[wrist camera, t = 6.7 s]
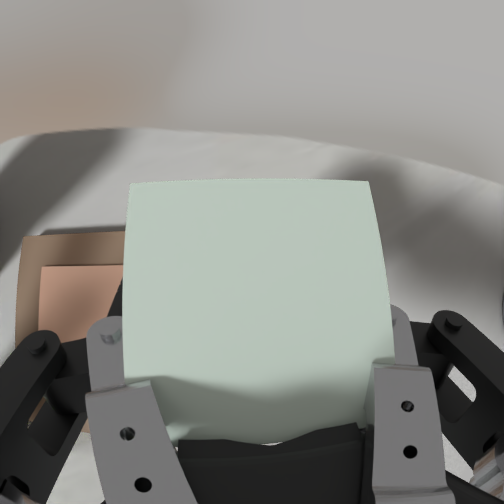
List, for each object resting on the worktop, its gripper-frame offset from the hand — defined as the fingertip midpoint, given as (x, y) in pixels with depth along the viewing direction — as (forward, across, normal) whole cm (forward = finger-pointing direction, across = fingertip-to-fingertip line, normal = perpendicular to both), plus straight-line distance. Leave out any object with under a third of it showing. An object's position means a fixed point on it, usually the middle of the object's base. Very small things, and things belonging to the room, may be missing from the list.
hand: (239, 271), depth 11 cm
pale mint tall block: (+2, 0, +5) cm, 5 cm away
